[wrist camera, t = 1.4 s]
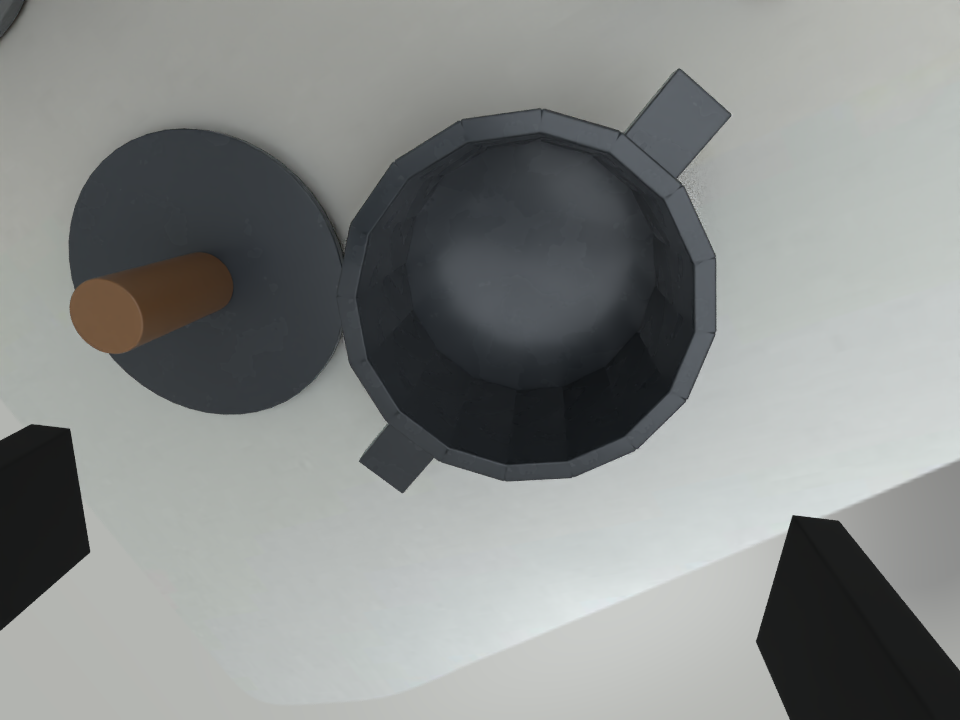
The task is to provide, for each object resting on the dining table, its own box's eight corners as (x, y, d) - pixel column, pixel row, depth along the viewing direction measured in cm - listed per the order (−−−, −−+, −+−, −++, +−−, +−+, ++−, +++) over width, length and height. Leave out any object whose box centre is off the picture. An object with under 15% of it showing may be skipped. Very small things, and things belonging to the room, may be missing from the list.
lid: (42, 297, 34) (-117, 339, 26) (161, 63, 30) (13, 25, 21) (261, 454, 36) (176, 541, 28) (406, 257, 31) (356, 291, 23)
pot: (318, 328, 33) (239, 386, 25) (545, 8, 27) (544, -61, 19) (515, 477, 35) (504, 580, 26) (771, 207, 29) (865, 226, 20)
